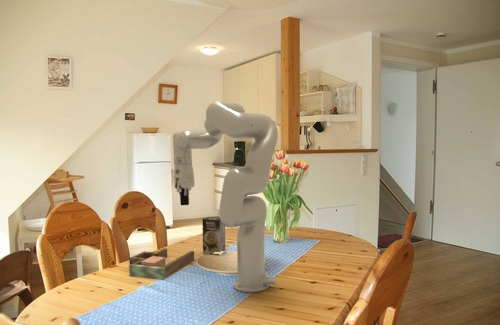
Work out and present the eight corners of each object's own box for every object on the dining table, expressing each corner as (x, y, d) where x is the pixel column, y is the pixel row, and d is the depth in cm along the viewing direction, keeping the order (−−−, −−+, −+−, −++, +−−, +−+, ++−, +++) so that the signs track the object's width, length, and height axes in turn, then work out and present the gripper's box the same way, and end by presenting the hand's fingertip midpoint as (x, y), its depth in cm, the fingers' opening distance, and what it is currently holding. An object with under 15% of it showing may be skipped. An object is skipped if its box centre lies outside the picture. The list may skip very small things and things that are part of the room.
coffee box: (202, 253, 170) (201, 218, 169) (209, 250, 176) (208, 216, 175) (220, 255, 166) (219, 220, 166) (226, 251, 172) (225, 217, 172)
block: (165, 269, 149) (165, 257, 149) (154, 275, 142) (154, 263, 142) (153, 268, 151) (152, 256, 151) (141, 274, 144) (141, 261, 144)
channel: (194, 260, 160) (194, 251, 160) (163, 279, 137) (162, 268, 137) (153, 256, 167) (152, 247, 167) (116, 274, 144) (116, 263, 144)
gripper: (182, 161, 147) (184, 207, 148) (198, 160, 161) (200, 202, 162) (165, 162, 150) (167, 207, 150) (183, 161, 164) (185, 202, 164)
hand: (184, 204), depth 156 cm, fingers closed
